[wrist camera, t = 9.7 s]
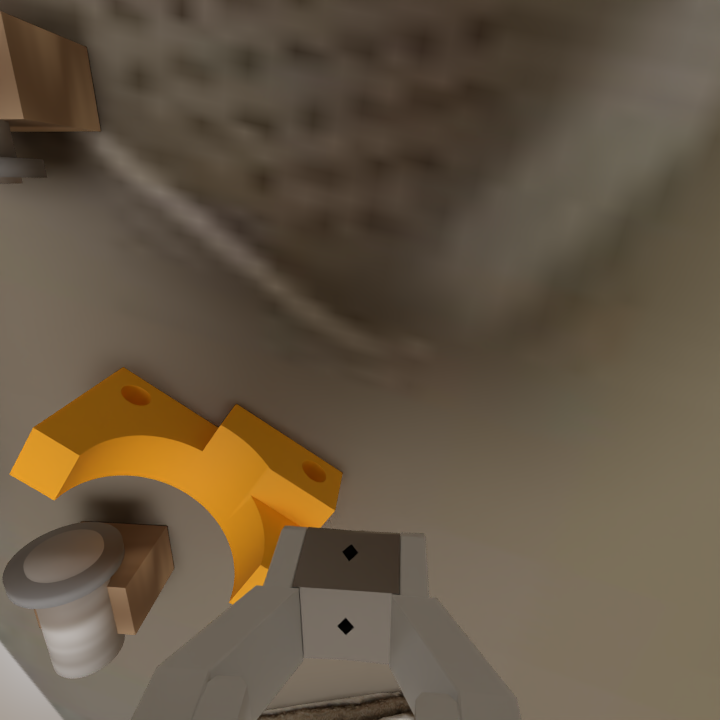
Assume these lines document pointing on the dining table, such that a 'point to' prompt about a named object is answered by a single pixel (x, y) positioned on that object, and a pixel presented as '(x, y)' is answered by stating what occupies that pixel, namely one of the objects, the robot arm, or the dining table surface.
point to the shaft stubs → (85, 539)
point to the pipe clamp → (186, 464)
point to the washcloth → (347, 709)
